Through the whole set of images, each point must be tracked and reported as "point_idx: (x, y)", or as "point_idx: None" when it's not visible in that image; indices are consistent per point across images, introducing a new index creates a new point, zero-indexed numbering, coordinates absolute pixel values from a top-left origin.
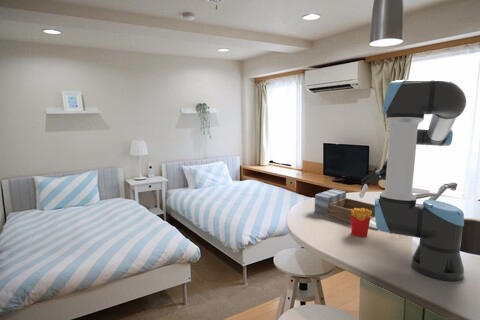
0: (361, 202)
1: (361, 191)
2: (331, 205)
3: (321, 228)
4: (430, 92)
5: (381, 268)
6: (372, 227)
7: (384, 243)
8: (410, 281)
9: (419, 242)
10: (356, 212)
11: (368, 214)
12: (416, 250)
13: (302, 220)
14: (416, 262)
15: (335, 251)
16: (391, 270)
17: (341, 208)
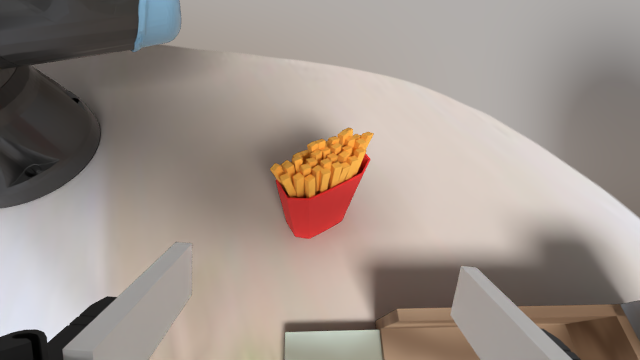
0: None
1: (489, 289)
2: (594, 305)
3: (440, 171)
4: None
5: (173, 72)
6: (312, 331)
7: (209, 212)
8: (101, 63)
9: (31, 78)
10: (339, 142)
11: (284, 164)
12: (60, 96)
13: (540, 186)
14: (75, 95)
15: (300, 76)
16: (149, 77)
17: (524, 306)
